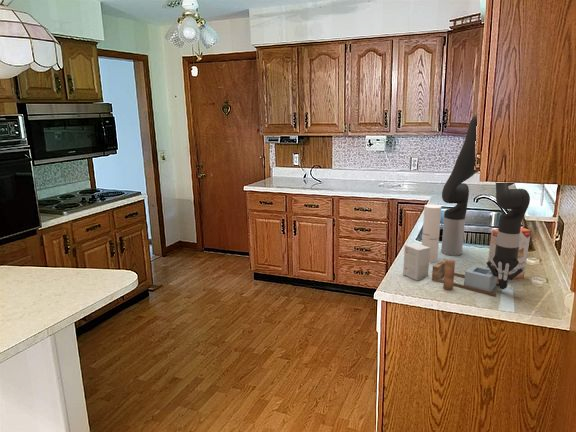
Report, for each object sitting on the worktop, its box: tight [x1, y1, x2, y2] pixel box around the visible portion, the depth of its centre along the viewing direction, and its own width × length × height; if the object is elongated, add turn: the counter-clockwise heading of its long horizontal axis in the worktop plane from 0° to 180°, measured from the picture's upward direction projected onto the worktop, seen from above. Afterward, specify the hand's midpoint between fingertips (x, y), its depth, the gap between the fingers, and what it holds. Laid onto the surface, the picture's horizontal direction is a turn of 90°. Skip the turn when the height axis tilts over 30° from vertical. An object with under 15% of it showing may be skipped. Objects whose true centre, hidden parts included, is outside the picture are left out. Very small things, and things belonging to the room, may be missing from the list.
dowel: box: [442, 259, 456, 291], centre depth 168 cm, size 3×3×12 cm
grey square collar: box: [463, 264, 498, 292], centre depth 169 cm, size 9×9×6 cm
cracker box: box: [486, 226, 532, 282], centre depth 178 cm, size 14×6×21 cm, turn 105°
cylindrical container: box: [421, 204, 442, 264], centre depth 200 cm, size 7×7×25 cm
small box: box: [402, 242, 430, 281], centre depth 182 cm, size 8×6×13 cm
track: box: [431, 258, 498, 297], centre depth 173 cm, size 11×24×7 cm, turn 49°
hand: (502, 288), depth 165 cm, fingers closed
